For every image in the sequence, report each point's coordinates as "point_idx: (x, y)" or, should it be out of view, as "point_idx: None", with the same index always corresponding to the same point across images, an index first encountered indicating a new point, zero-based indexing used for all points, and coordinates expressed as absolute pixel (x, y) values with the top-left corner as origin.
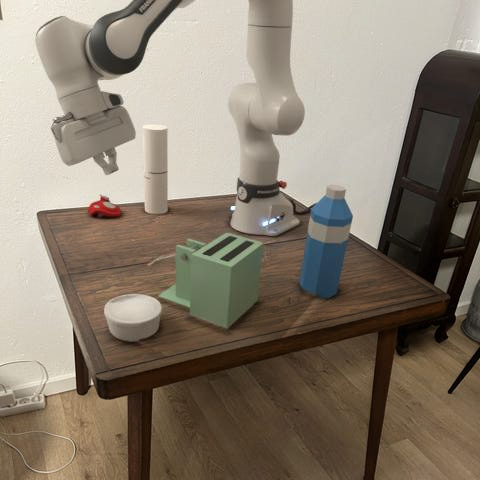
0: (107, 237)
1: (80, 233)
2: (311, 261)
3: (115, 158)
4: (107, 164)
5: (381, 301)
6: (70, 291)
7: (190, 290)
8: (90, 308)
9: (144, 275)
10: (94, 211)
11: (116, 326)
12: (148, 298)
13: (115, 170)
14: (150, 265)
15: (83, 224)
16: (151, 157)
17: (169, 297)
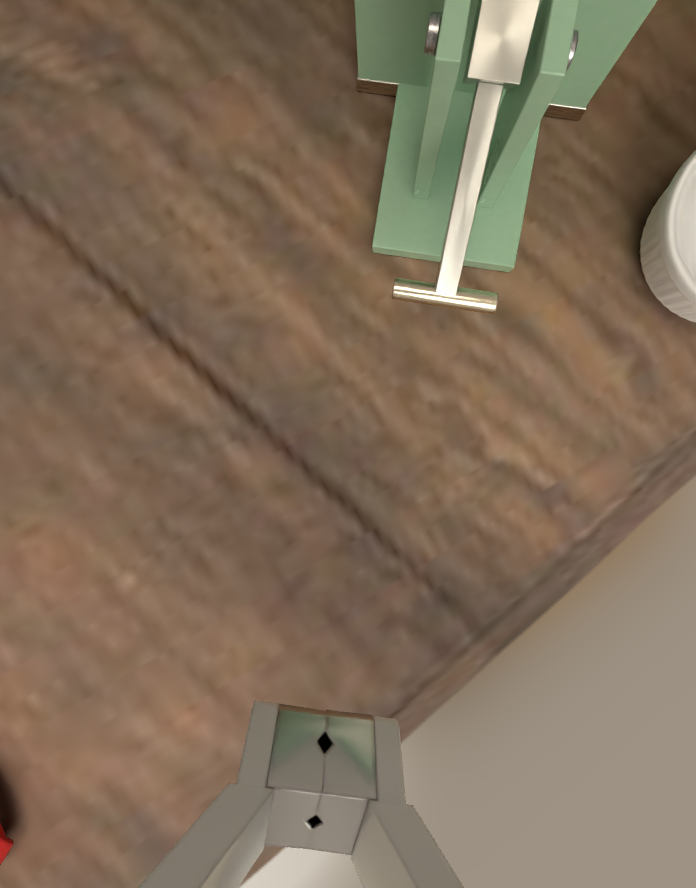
0: (153, 679)
1: (172, 786)
2: None
3: (213, 827)
4: (394, 819)
5: None
6: (583, 564)
7: (634, 34)
8: (653, 445)
9: (369, 401)
10: (2, 839)
11: None
12: (681, 207)
13: (306, 710)
14: (496, 294)
15: (93, 823)
16: None
17: (509, 223)
